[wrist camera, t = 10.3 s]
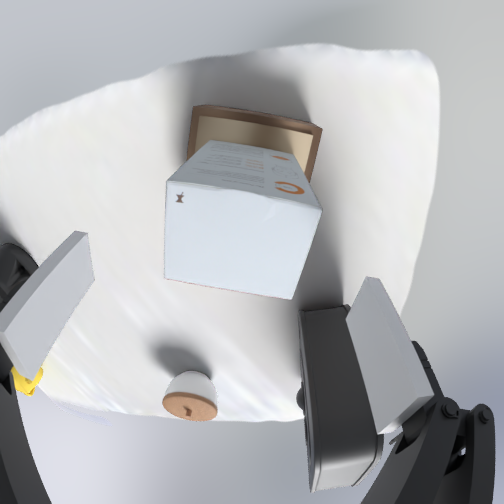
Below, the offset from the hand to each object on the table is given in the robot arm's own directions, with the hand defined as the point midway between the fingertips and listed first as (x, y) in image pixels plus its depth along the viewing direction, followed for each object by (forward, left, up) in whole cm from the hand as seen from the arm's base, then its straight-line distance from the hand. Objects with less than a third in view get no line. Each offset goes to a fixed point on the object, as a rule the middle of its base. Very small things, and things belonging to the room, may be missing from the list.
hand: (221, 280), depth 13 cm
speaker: (+17, -29, -23) cm, 40 cm away
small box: (0, 0, -16) cm, 16 cm away
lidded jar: (-4, -44, -23) cm, 50 cm away
